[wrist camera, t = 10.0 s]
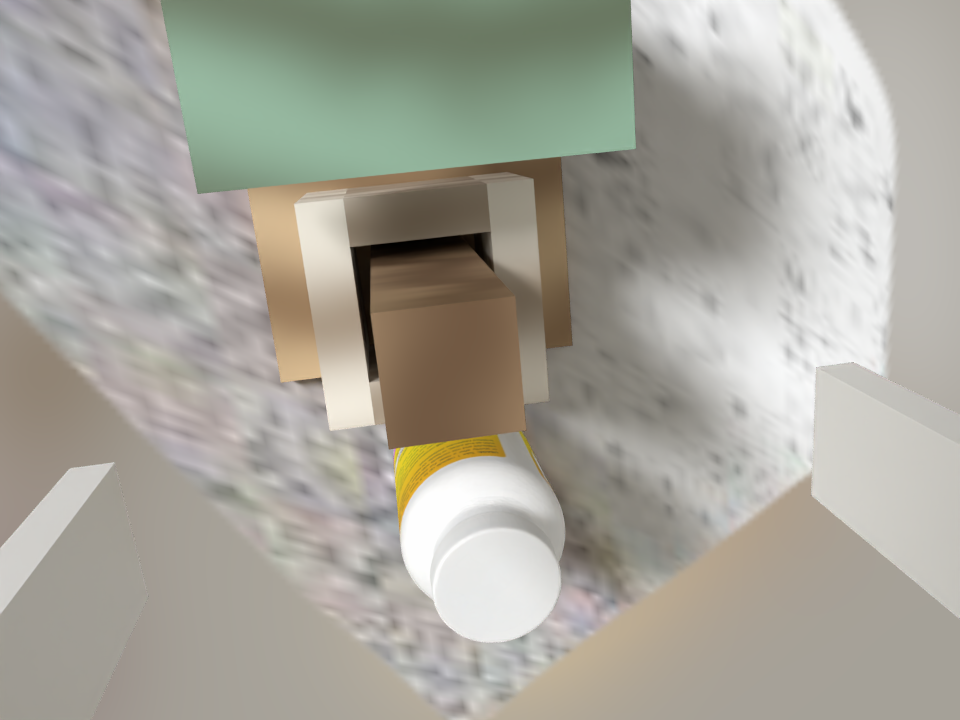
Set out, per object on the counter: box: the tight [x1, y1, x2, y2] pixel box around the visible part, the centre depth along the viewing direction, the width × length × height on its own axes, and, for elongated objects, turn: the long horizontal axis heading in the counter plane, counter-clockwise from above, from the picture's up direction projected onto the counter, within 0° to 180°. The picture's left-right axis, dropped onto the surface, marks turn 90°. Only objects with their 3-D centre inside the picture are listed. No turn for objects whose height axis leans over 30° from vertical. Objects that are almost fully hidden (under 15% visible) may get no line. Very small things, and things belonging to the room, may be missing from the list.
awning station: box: [161, 0, 636, 431], centre depth 30 cm, size 19×14×13 cm
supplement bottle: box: [393, 431, 565, 643], centre depth 34 cm, size 7×7×13 cm
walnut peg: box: [370, 235, 526, 449], centre depth 29 cm, size 4×4×15 cm
